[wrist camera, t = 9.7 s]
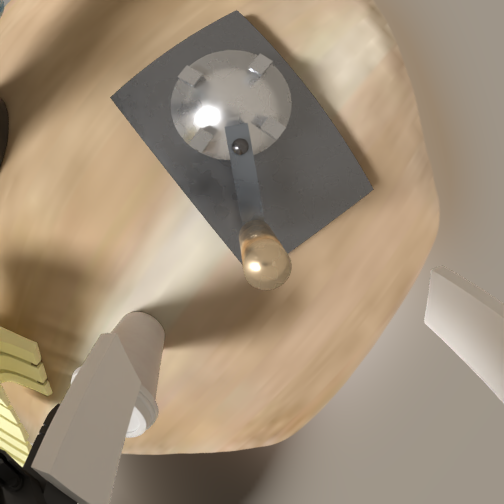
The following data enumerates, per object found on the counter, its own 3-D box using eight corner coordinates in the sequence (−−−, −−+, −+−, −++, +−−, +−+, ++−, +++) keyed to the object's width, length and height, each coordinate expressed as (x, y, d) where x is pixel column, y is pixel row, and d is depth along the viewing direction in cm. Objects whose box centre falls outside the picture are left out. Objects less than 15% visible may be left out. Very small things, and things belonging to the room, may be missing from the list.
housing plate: (116, 100, 25) (109, 97, 23) (236, 18, 23) (237, 9, 21) (252, 271, 33) (253, 278, 31) (365, 187, 31) (374, 189, 29)
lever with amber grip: (170, 72, 23) (135, 20, 12) (274, 55, 23) (302, -4, 12) (203, 249, 29) (187, 304, 18) (305, 230, 29) (350, 272, 18)
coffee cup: (148, 289, 32) (104, 367, 18) (189, 345, 35) (175, 434, 21) (97, 317, 33) (48, 389, 19) (138, 366, 36) (111, 445, 22)
